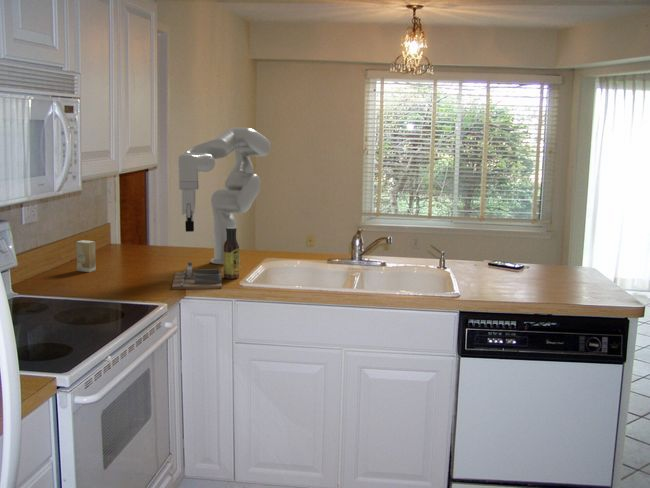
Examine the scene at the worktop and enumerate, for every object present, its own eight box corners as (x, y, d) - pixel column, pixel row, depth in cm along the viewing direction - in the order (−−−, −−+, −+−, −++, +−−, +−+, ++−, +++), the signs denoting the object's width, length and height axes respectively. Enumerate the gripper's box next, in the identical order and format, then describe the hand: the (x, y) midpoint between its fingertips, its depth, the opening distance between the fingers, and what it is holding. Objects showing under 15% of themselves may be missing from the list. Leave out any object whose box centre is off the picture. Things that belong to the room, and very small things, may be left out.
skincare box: (76, 271, 276) (75, 241, 274) (83, 269, 281) (82, 239, 278) (90, 272, 274) (88, 242, 272) (96, 270, 278) (95, 240, 276)
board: (175, 274, 272) (175, 265, 272) (221, 273, 275) (221, 264, 274) (171, 289, 249) (171, 278, 248) (221, 288, 252) (221, 277, 251)
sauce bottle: (236, 279, 265) (235, 229, 262) (221, 279, 266) (220, 228, 263) (241, 276, 272) (241, 226, 268) (226, 275, 273) (226, 226, 269)
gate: (188, 272, 272) (188, 262, 271) (192, 272, 272) (192, 261, 271) (187, 278, 262) (187, 267, 262) (191, 278, 263) (191, 267, 262)
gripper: (180, 183, 277) (181, 228, 280) (178, 187, 262) (179, 234, 266) (198, 183, 278) (199, 228, 281) (197, 187, 264) (198, 234, 267)
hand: (189, 231), depth 274 cm, fingers closed
